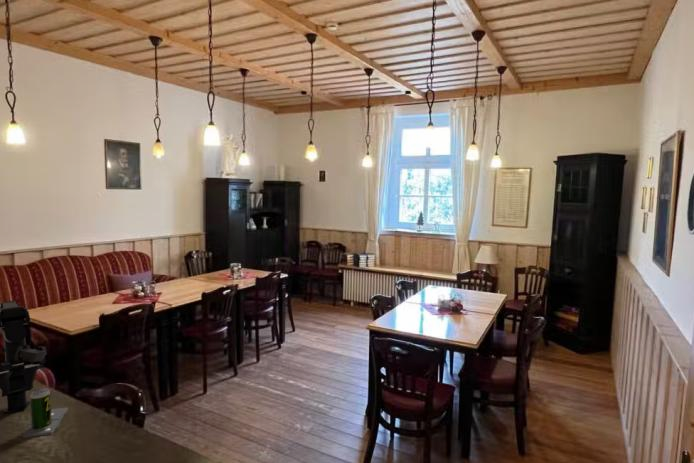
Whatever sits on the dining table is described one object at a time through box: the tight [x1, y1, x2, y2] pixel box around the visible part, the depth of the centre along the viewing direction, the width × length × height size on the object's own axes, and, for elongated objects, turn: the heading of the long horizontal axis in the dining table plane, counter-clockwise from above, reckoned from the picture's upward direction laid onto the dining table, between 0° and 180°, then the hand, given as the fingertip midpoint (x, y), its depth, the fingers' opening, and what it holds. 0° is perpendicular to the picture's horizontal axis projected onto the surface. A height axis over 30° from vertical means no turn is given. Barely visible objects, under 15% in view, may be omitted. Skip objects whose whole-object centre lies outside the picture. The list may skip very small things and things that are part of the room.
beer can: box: [29, 387, 52, 431], centre depth 139 cm, size 5×5×12 cm
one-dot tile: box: [51, 407, 69, 420], centre depth 148 cm, size 8×8×1 cm
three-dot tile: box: [22, 419, 62, 439], centre depth 140 cm, size 8×8×1 cm
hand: (18, 391), depth 141 cm, fingers open, 9 cm apart
